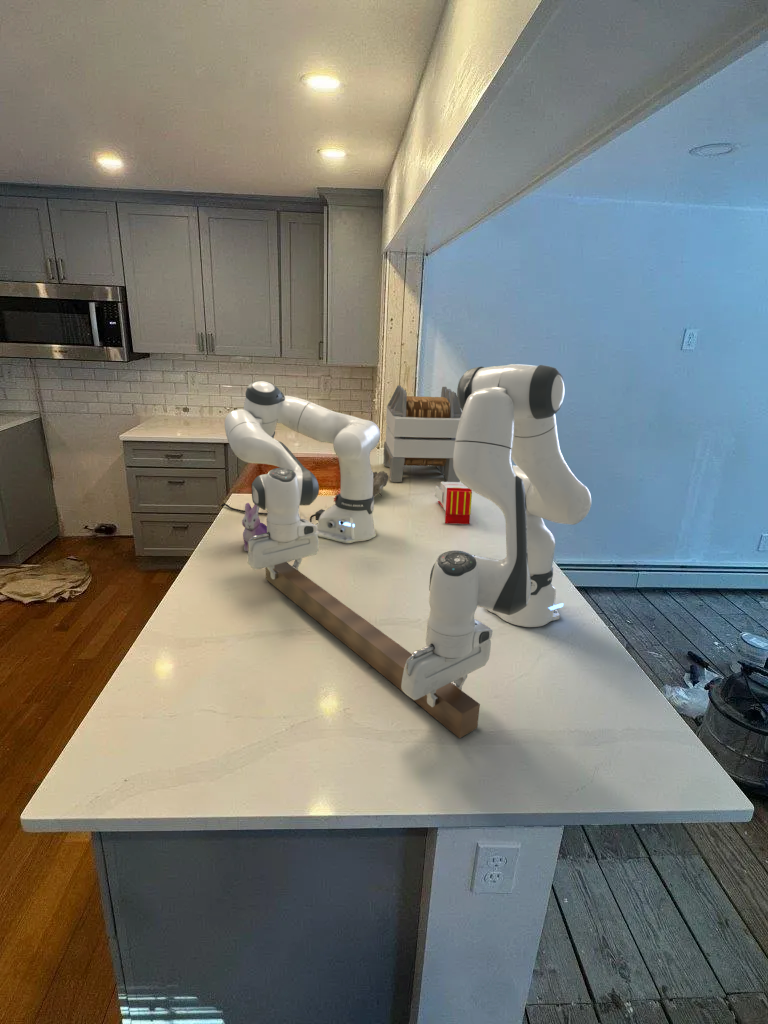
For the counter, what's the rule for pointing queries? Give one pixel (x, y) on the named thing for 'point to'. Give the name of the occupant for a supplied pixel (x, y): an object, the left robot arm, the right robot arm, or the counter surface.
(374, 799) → the counter surface
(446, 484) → the red striped box
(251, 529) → the figurine
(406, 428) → the white boxy stand
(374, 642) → the beam
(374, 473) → the fossil
